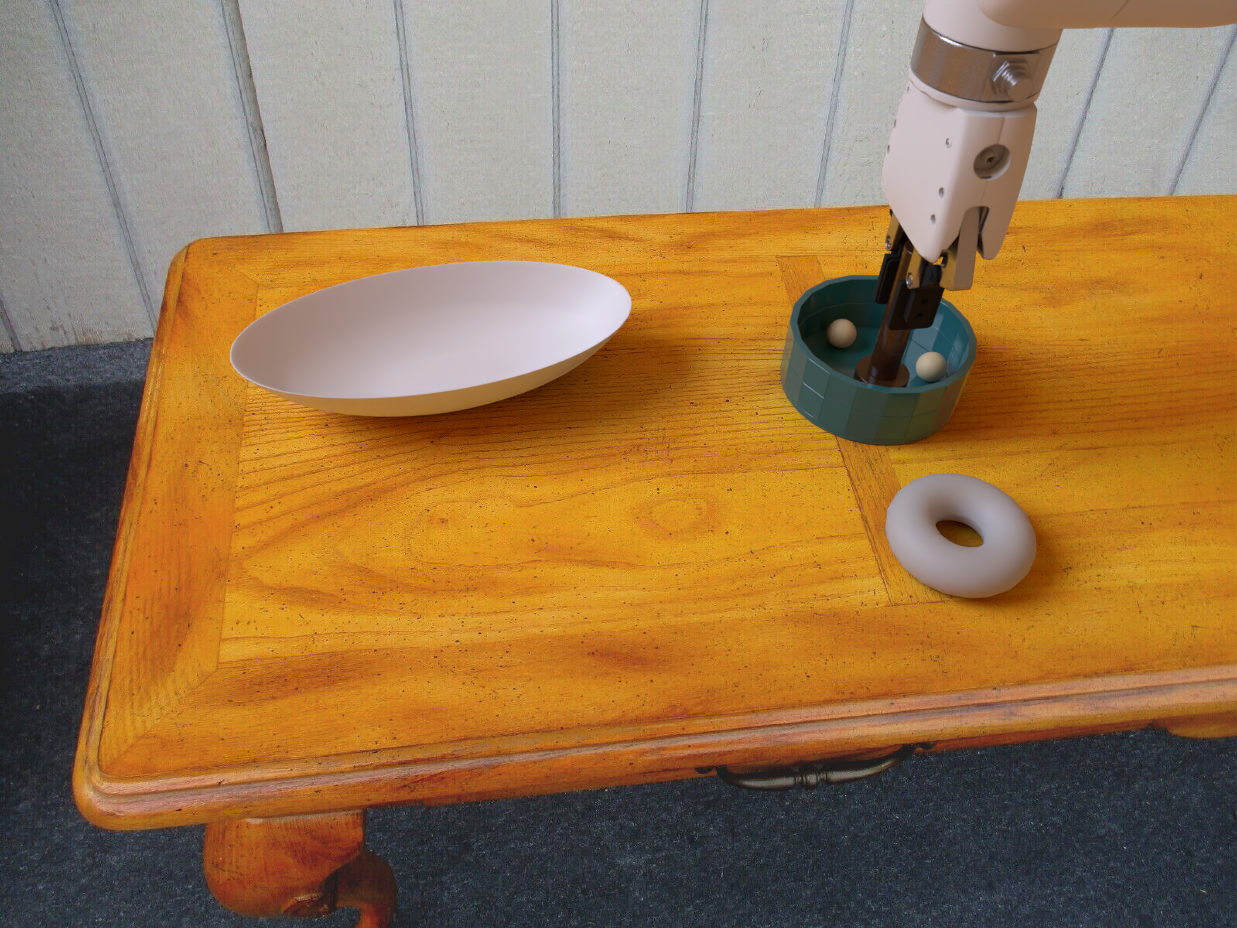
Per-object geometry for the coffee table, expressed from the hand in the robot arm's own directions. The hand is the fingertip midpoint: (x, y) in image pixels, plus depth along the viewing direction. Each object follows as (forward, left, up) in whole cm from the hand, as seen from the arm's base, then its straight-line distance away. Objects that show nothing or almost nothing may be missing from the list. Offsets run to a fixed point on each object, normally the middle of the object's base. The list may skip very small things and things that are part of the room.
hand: (901, 312), depth 68 cm
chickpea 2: (0, -6, -8) cm, 11 cm away
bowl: (+23, +25, -10) cm, 35 cm away
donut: (-12, +5, -10) cm, 17 cm away
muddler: (0, 0, -9) cm, 9 cm away
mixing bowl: (+3, -3, -10) cm, 11 cm away
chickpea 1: (+7, -4, -8) cm, 11 cm away
